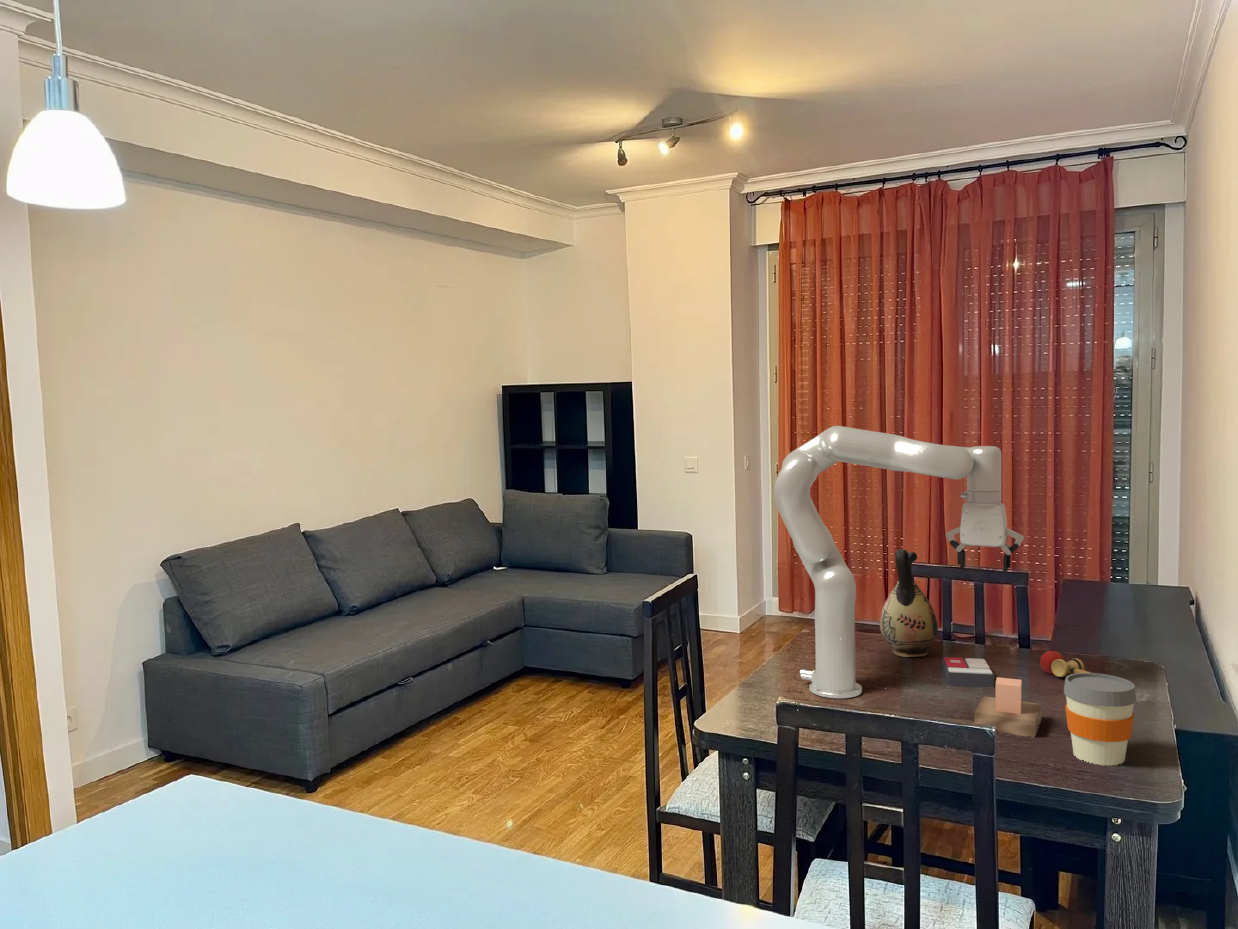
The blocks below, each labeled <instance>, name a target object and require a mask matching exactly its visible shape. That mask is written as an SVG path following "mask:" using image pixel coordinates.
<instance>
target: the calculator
mask: <svg viewBox="0 0 1238 929" xmlns="http://www.w3.org/2000/svg"><path fill="white" fill-rule="evenodd" d="M942 670H943V671H942ZM941 671H942V673H943V676H944V678H945V682H947V683H946V686H948V685H952V686H951V687H962V686H965V687H964V688H981V687H995V688H996V680H995V678H996V676H995V673H994V672H993V669H992V668H991V667H990V665H989V663H988V662H987V660H986V659H984V658H975V657H974V658H973V657H972V658H971V657H968V658H967V657H965V658H962V657H947V656H945V657H943V658H941ZM954 685H956V686H954ZM968 686H969V687H968Z"/></svg>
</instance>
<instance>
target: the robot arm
mask: <svg viewBox="0 0 1238 929" xmlns="http://www.w3.org/2000/svg"><path fill="white" fill-rule="evenodd" d="M838 462H840V463H846V464H853V465H860V466H866V467H871V468H877V469H884V470H889V471H890V470H891V471H894V472H896V471H897V472H905V473H906V472H907V473H908V472H909V473H914V474H920V475H926V476H930V477H935V478H943V479H948V480H949V479H950V480H961V479H964V478H966V491H964V492H960V498H961V499H964V500H965V501H966V502H965V503H963V505H962V510H961V517H960V518H961V519H960V526H958V527H956V528H954V529H951V530H949V531H947V532H946V533H945V537H946V539H947V540H948V543H949V544H950V546H951V547H953V549H954V550H955V551H956V552H957V565H959V569H961V570H962V569H964V568H965V567H966V550H965V547H967V546H969V547H970V546H971V547H987V548H1000V549H1001V550H1002V551H1003V552H1004V554H1003V556H1002V571H1003V572H1005V573H1006V572H1008V571H1009V569H1011V566H1012V554H1013V553H1014V552H1015V551H1016V550H1017V549H1018V548H1019V547H1020V546H1021V544H1022V542H1023V541H1024V538H1025V536H1024V535H1022V534H1020V533H1019V532H1016V531H1014V530H1012V529H1010V528H1008V521H1007V520H1008V519H1007V512H1006V507H1005V504H1004V503H1002V450H1001V449H1000V447H998V446H993V445H977V446H976V445H975V446H971V447H967V446H955V445H945V444H939V443H932V442H927V441H921V440H917V439H912V438H909V437H905V436H902V435H898V434H894V433H887V432H879V431H873V430H868V429H861V428H854V427H849V426H843V425H833V426H831V427H829V428H827V429H825V430H824V431H822V432H821V433H819V434H818V435H816V436H815V437H813V438H811V439H810V440H809V441H807V442H805V443H803V444H802V445H801V446H799V447H797V448H796V449H794V450H792V451H790V453H787V455H786V456H785V457H784V459H783V460H782V464H781V468H780V471H779V473H778V474H777V477H776V480H775V484H774V489H773V490H774V493H773V496H774V502H775V505H776V508H777V511H778V513H779V515H780V518H781V519H782V521H783V523H784V525H785V528H786V530H787V532H788V534H789V536H790V538H791V540H792V544H793V547H794V549H795V551H796V553H797V554H798V556H799V558H800V560H801V562H802V564H803V566H804V568H805V570H806V571H807V572H806V573H807V574H808V575H809V578H810V579H811V581H812V583H813V586H814V595H815V596H814V629H815V633H814V634H815V635H814V636H815V643H814V644H815V647H814V648H815V669H813V670H808V669H803V668H801V669H800V670H799V676H800V677H801V679H802V680H804V681H805V680H808V681H810V683H809V691H810V692H811V693H812V694H814V695H816V696H820V697H823V698H829V699H849V698H850V699H851V698H855V697H858V696H860V695H861V694H862V693H863V687H862V685H861V684H859V683H858V682H856V619H855V617H856V600H857V586H856V585H857V584H856V580H855V576H854V574H853V572H852V571H851V570H850V568H849V567H848V565H847V563H846V562H845V560H844V558H843V556H842V554H841V553H840V550H839V549H838V547H837V545H836V543H835V541H834V539H833V535H832V534H831V532H830V530H829V529H828V527H827V526H826V525H825V524H824V521H823V520H822V518H821V516H820V514H819V512H818V510H817V508H816V506H815V504H814V501H813V500H812V497H811V487H812V485H813V483H814V482H816V480H817V477H818V475H819V474H821V473H823V472H824V471H826V470H828V469H829V468H831V467H833V466H834V465H835V464H837V463H838ZM957 534H959V539H960V543H959V542H958V541H957V540H956V539H955V535H957ZM1008 536H1009V537H1011V538H1013V539H1015V540H1014V543H1013V544H1012V545H1011V546H1010V545H1009V544H1008V543H1007V542H1008Z"/></svg>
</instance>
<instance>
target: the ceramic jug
mask: <svg viewBox="0 0 1238 929" xmlns="http://www.w3.org/2000/svg"><path fill="white" fill-rule="evenodd" d="M894 554H895V557H894V558H895V565H896V571H897V573H896V574H897V576H898V580H897V583H896V584H895V586H894V587H893V589H892V590H891V591H890V592H889V594H888V597H887V598H886V600H885V601H884V604H883V607H882V609H881V612H880V617H879V629H880V630H879V631H880V634H881V635H882V638H883V639H884V641H885V642H886V643H887V644H888V646H889V647H890V648H891V651H892V653H893V654H894V655H896V656H899V657H903V658H914V657H915V658H917V657H926V656H927V655H929V651H928V650H929V649H930V648H931V646H932V645H933V644H934V642H935V640H936V638H937V635H938V629H939V626H938V621H937V616H936V614H935V611H934V608H933V606H932V605H931V603H930V600H929V599H928V598H927V596H926V595H925V594H924V592H923V590H921V588H920V586H919V585H917V583H916V582H915V579H914V578H913V574H912V572H913V571H912V566H913V563H914V562H915V561H917V560H918V555H917V553H915V551H910V552H908V550H906V549H902V548H899V549H897V550H895V553H894Z"/></svg>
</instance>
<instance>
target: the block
mask: <svg viewBox="0 0 1238 929" xmlns="http://www.w3.org/2000/svg"><path fill="white" fill-rule="evenodd" d="M1022 683H1023V682H1022V679H1018V678H1017V679H1015V678H1009V677H1008V678H1005V677H996V680H995V698H996V711H999V712H1008V713H1017V714H1021V701H1022V695H1023V694H1022V690H1023V689H1022V687H1023V686H1022Z"/></svg>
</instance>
